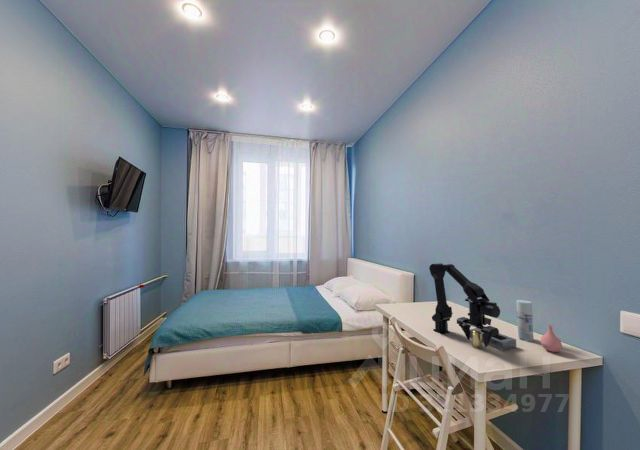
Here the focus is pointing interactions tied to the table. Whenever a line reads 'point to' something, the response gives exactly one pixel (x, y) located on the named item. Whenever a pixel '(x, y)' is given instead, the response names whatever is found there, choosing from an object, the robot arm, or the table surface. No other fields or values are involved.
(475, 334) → the brass fitting
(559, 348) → the pink teardrop bulb
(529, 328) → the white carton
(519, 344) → the table surface
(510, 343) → the manifold plate
